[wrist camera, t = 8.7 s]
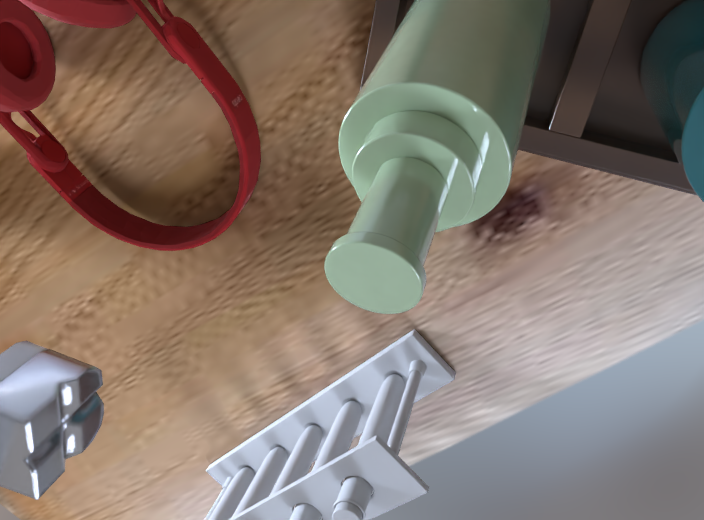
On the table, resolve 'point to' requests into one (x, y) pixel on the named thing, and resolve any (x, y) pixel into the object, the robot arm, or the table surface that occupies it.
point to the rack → (584, 88)
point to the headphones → (51, 157)
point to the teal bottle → (679, 85)
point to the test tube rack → (335, 445)
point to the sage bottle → (432, 139)
